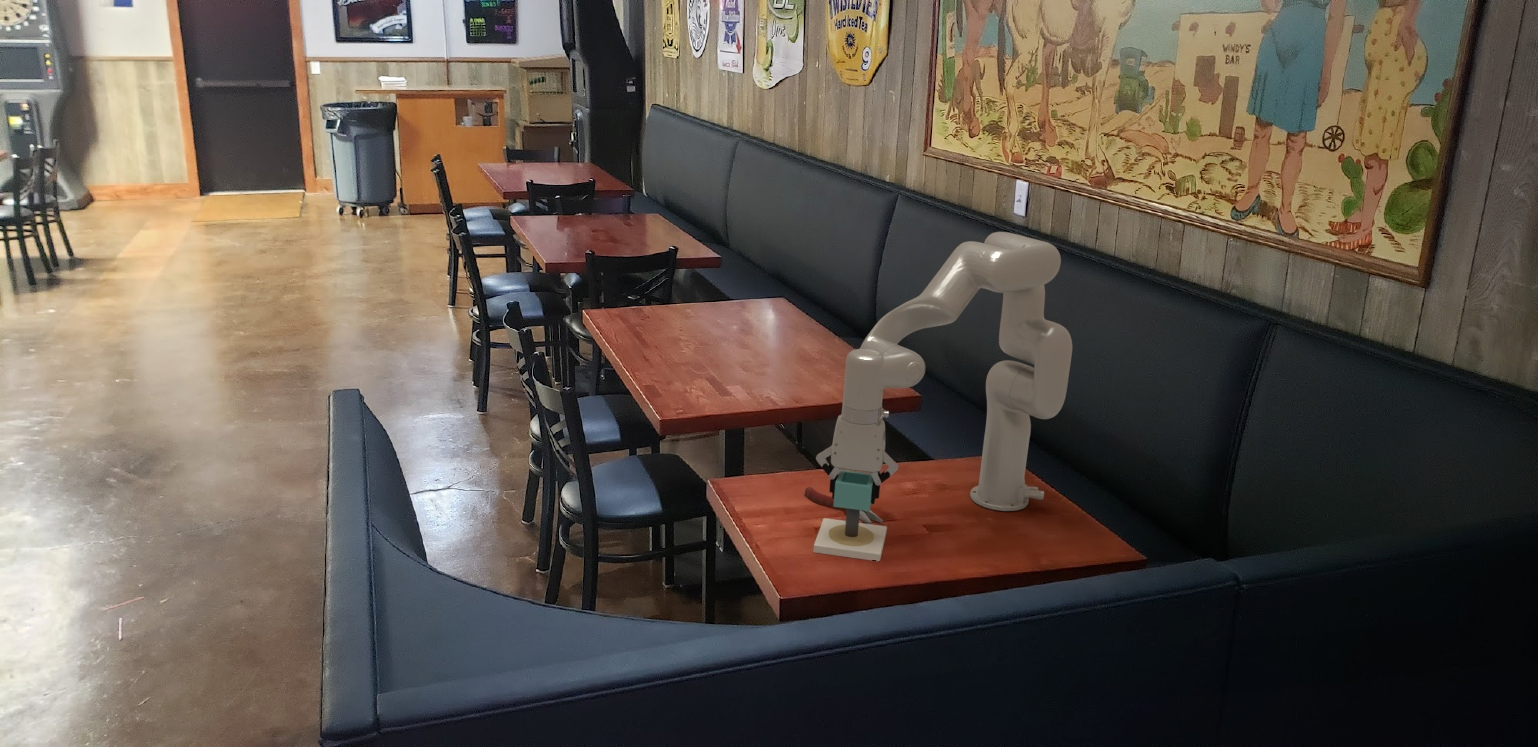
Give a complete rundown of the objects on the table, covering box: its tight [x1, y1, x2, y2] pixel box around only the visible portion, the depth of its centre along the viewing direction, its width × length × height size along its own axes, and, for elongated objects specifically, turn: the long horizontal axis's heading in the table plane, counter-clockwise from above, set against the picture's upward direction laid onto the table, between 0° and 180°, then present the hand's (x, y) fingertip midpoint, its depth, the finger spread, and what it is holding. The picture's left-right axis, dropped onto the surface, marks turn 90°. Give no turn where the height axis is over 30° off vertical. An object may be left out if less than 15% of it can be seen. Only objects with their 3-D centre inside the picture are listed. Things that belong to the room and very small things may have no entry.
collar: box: [833, 469, 874, 511], centre depth 222 cm, size 7×7×5 cm
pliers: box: [804, 486, 884, 525], centre depth 242 cm, size 12×20×3 cm, turn 31°
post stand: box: [812, 508, 888, 562], centre depth 225 cm, size 13×13×8 cm
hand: (853, 497), depth 223 cm, fingers closed on collar, 7 cm apart
